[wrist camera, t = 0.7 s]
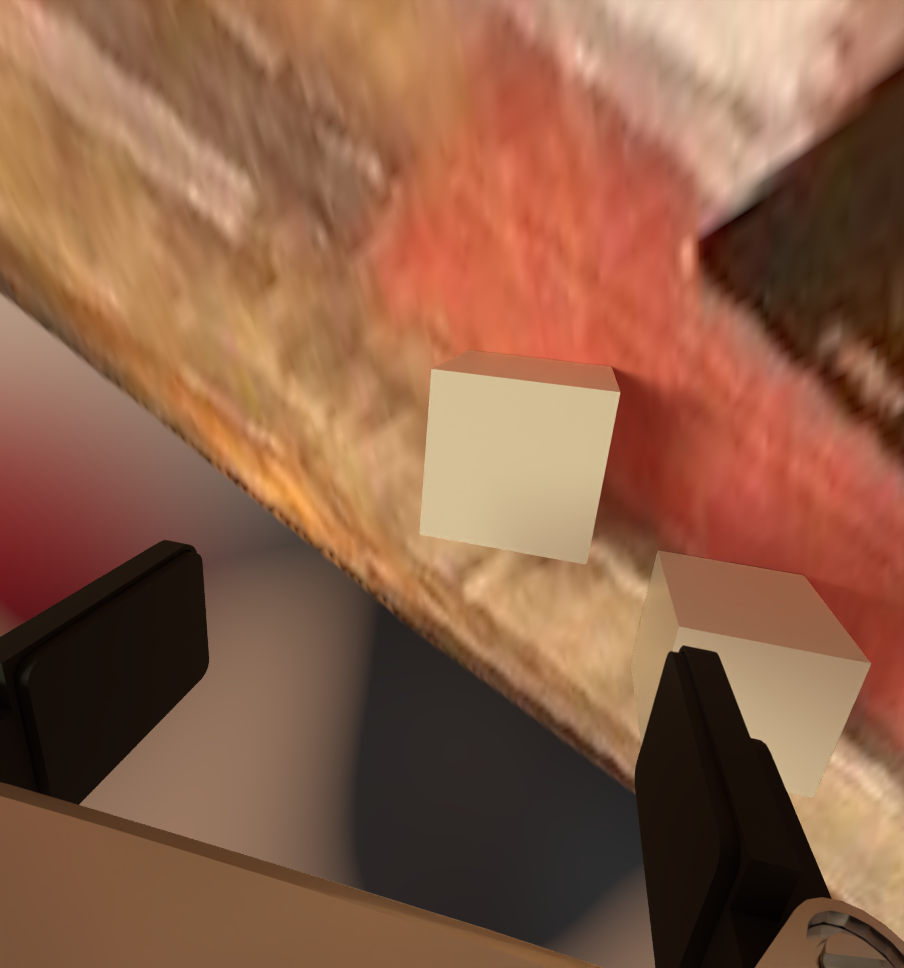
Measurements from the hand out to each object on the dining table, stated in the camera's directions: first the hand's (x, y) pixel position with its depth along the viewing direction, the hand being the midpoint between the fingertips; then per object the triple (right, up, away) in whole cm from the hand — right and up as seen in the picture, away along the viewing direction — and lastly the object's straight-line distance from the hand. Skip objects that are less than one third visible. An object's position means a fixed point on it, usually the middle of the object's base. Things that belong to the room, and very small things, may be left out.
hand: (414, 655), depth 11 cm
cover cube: (+5, +6, +17) cm, 19 cm away
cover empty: (+15, -4, +19) cm, 24 cm away
